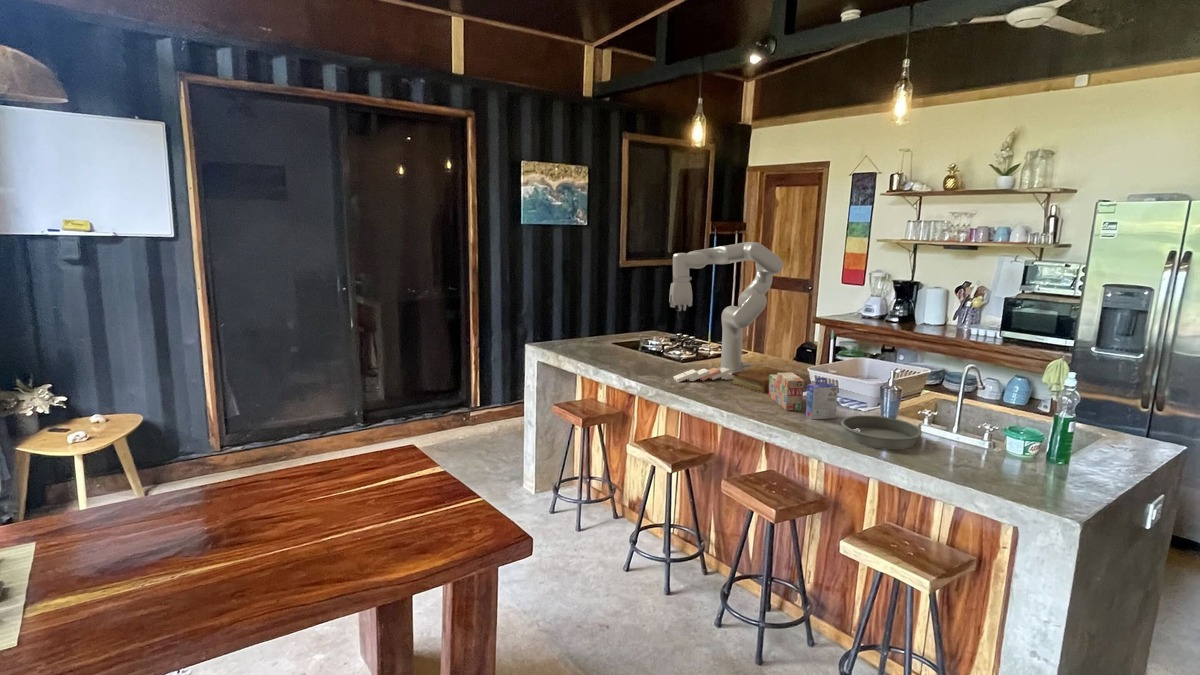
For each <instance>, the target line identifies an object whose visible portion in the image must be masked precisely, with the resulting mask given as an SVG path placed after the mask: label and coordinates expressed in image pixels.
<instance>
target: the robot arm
mask: <svg viewBox="0 0 1200 675" xmlns="http://www.w3.org/2000/svg"><path fill="white" fill-rule="evenodd" d="M745 261H753V262H755V277H754V278H753V280H752V281H751V283H749V285H748V286H747V287H745V289H744V290H743V291H742V292H741V293H740V294H739V296H738V299H737V300H738V304H739V306H740V307H739V306H737V305H736V306H735V305H729V306H726V307H725V308H724V309H723V310H722V313H721V327H722V332H721V333H722V337H721V354H720V355H721V356H720V366H718V367H717V369H721V368H723V367H724V368H727V369H730V373H734V372H740V371H745V368H750V367H751V363H750V362H744V361H742V356H743V355H742V353H743V351H742V350H743V333H744V332H743V329H746V328H748V327H749V326H751V324H752V323H753V322H754V321H755V320H756V319H757V318H758V317H759V315H760V314H761V313H762V312H763V311H764V310H765V309H766V306H767V302H768V301H767V299H768V298H767V296H766V294H767V293H768V292H769V290H770V288H771V287H772V284H773V277H774V276H773V275H777V274H779V273H780V272H781V271H782V270H783V268H784V263H783V260H782V259H781V257H780V256H778V255H777V254H775V252H773V251H771V250H770V249H769V248H767V247H766V246H764V245H763V244H761V242H757V241H756V242H755V241H746V242H745V241H743V242H739V243H734V244H728V245H722V246H721V245H720V246H716V247H710V248H703V249H698V250H692V251H689V252H687V253H686V252H677V253H674V254H673V256H672V282H671V283H670V288H669V297H668V298H669V300H668V302H669V307H670V308H675V310H676V311H677V318H678V320H685V317H686V311H687V309H688V308H690V307H692V306H693V290H692V289H693V288H692V284H691V281H692V280H693V278H692V276H690V269H695V270H697V269H698V270H699V269H703V268H705V267H706V266H707V265H728V264H732V263H733V264H734V263H739V262H745Z"/></svg>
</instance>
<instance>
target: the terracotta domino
mask: <svg viewBox="0 0 1200 675" xmlns="http://www.w3.org/2000/svg"><path fill="white" fill-rule="evenodd" d="M708 370H709V372H710V374H709V375H706V376H704V377H701V378H699V379H700V381H701V380H702V381H701V382H704V381H706V380H708V378H710V377H713V376H715V375H717V374H719V373H721V371H720V369H718V367H712V368H710V369H708ZM699 379H698V380H699Z"/></svg>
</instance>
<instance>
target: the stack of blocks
mask: <svg viewBox="0 0 1200 675" xmlns="http://www.w3.org/2000/svg"><path fill="white" fill-rule="evenodd" d="M795 374H796V373H794V374H793V372H790V373H777V375H769V392H768V397H769V396H770V397H769V398H770V399H772V400H773V401H774V400H775V401H776V402H777V403H776V402H775V401H774V402H775V403H776V404H777V405H779V404H780V405H781V406H782V407H783V408H784V409H785V410H784V409H783V408H782V407H781V406H780V405H779V406H780V407H781V408H782V409H783V410H784V411H786V410H802V408H803V397H804V388H805V387H804V386H805V380H804V379H803V378H801V377H800V375H799V376H797V375H795Z"/></svg>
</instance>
